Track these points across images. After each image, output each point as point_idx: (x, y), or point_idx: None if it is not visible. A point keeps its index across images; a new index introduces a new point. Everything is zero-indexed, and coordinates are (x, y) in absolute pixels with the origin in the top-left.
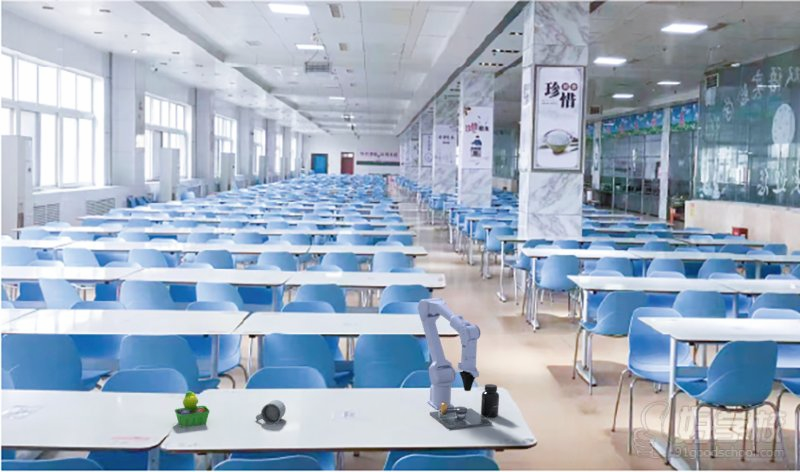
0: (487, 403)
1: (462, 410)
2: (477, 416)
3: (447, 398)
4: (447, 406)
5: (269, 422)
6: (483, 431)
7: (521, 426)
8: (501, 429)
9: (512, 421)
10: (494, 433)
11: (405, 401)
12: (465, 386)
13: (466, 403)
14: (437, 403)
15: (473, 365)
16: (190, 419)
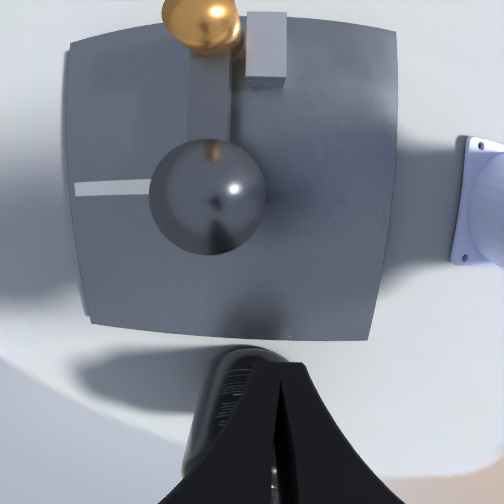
0: (202, 417)
1: (150, 189)
2: (206, 306)
3: (499, 235)
4: (468, 221)
5: None
6: (27, 230)
7: (88, 406)
8: (50, 323)
9: (147, 415)
10: (9, 266)
11: None
12: (236, 404)
13: (465, 351)
14: (501, 161)
15: None
16: None
